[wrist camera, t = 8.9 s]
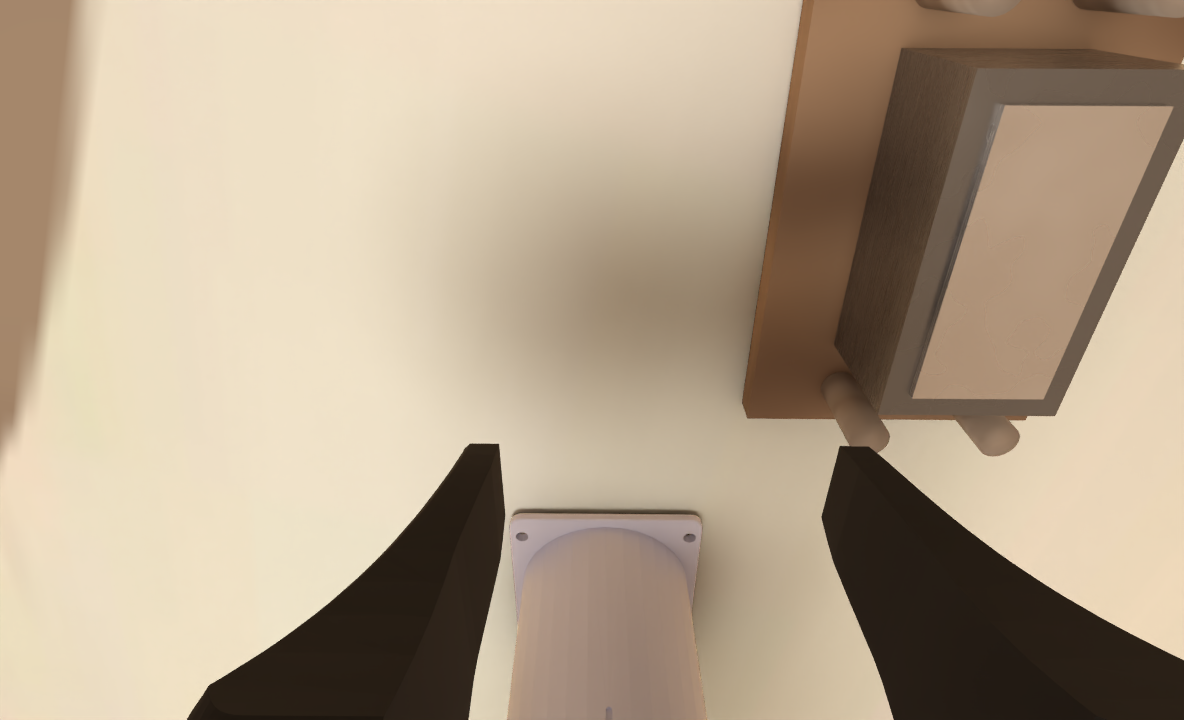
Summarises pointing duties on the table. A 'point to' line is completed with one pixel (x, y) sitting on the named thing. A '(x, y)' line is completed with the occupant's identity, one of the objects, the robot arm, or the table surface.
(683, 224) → the table surface
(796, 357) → the pegged wooden board
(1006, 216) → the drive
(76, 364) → the table surface
